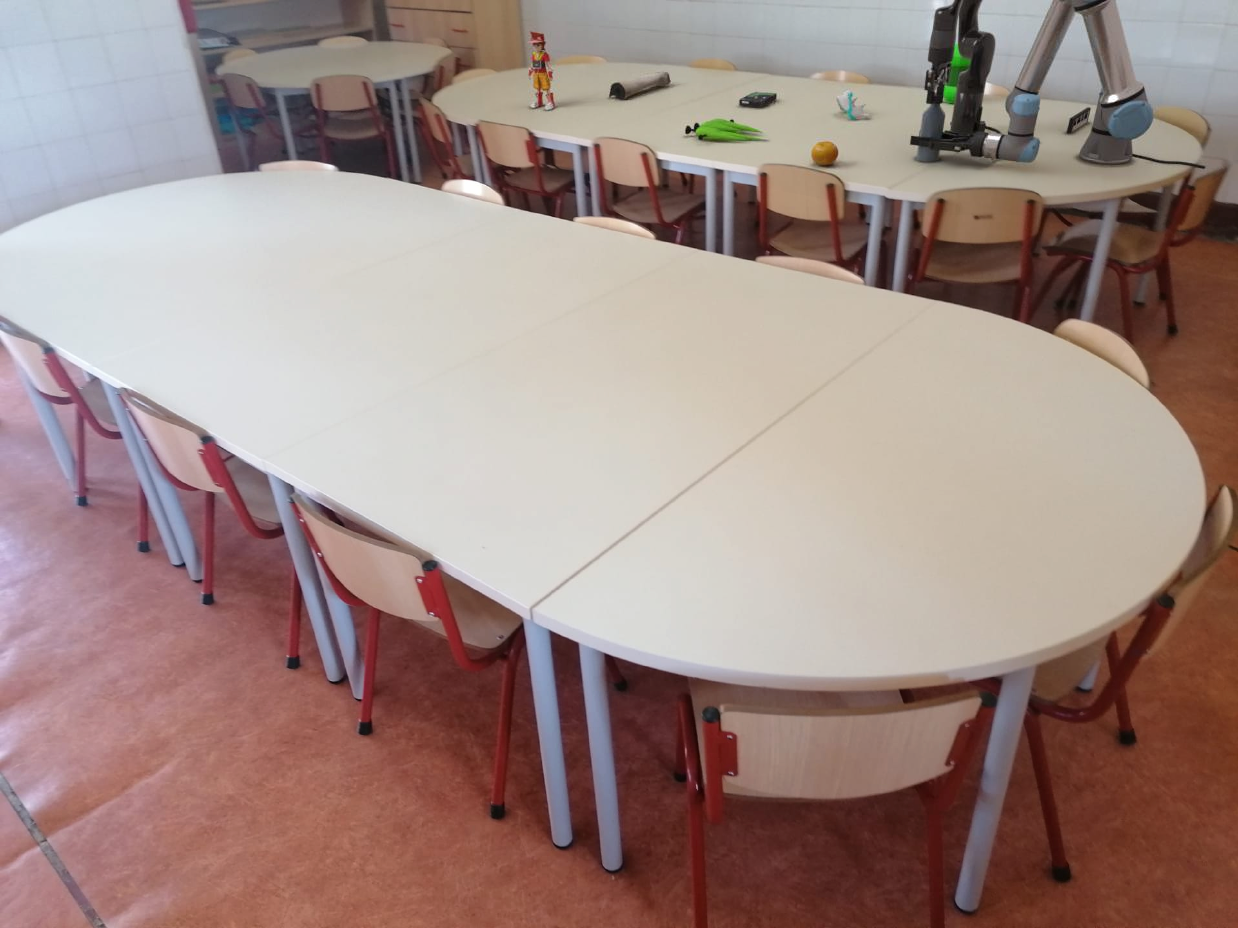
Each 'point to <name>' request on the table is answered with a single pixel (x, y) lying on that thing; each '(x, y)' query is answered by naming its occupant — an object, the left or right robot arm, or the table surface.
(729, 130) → the toy
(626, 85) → the rolled mat
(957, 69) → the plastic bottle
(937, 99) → the cap
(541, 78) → the toy
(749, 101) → the disk drive
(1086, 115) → the midi keyboard
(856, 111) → the anatomical model
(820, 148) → the fruit
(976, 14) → the left robot arm
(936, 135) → the bottle
